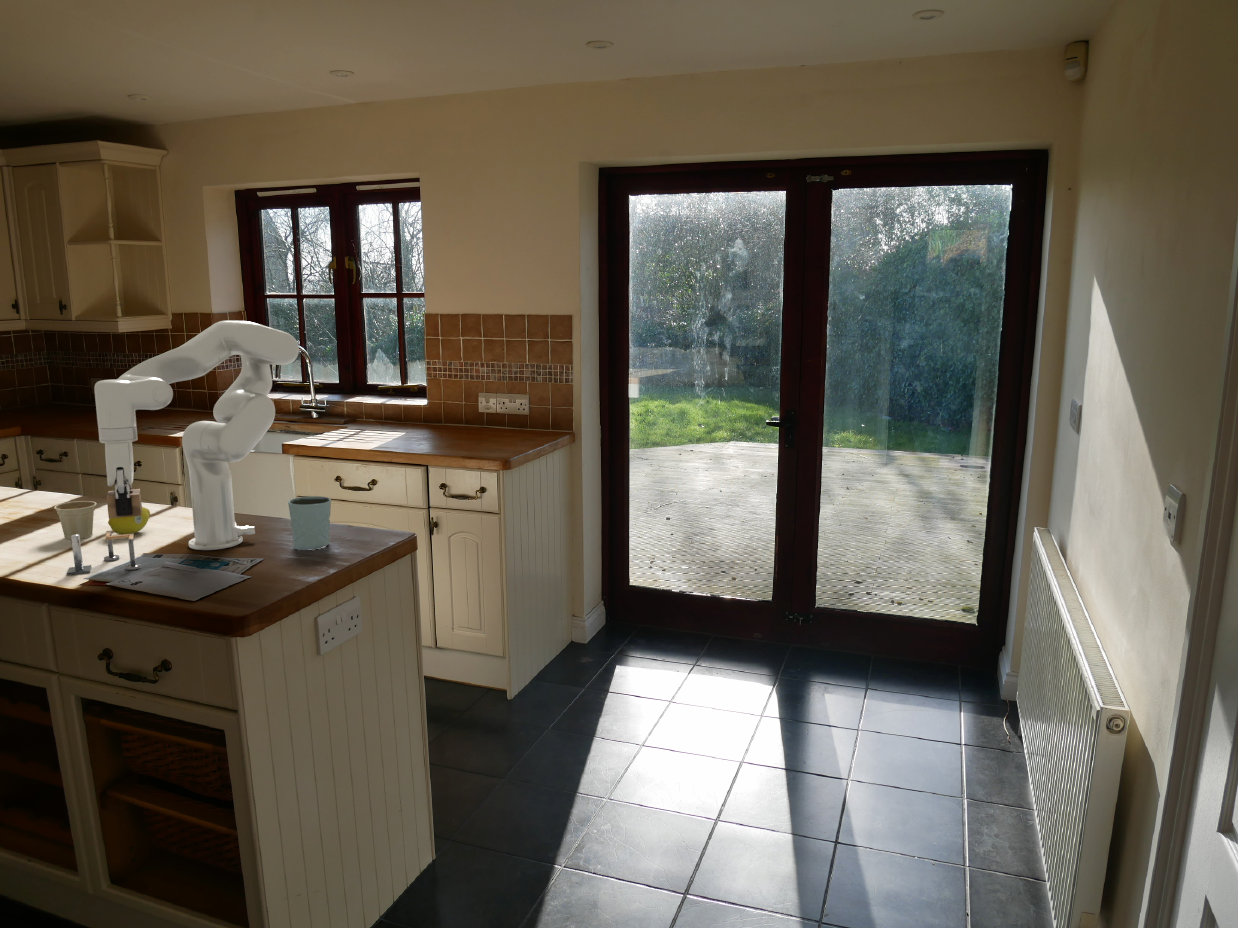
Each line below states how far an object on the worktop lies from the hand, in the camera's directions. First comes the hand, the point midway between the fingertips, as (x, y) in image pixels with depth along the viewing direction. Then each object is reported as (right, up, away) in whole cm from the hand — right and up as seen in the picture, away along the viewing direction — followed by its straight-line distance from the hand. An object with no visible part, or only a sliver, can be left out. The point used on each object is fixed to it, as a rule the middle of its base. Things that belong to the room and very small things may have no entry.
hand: (125, 511), depth 200 cm
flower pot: (-28, -9, +28) cm, 41 cm away
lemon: (-17, -8, +32) cm, 37 cm away
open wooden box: (0, -1, 0) cm, 1 cm away
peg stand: (-11, -14, 0) cm, 17 cm away
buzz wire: (-5, -13, +6) cm, 15 cm away
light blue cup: (+35, -10, +22) cm, 43 cm away
